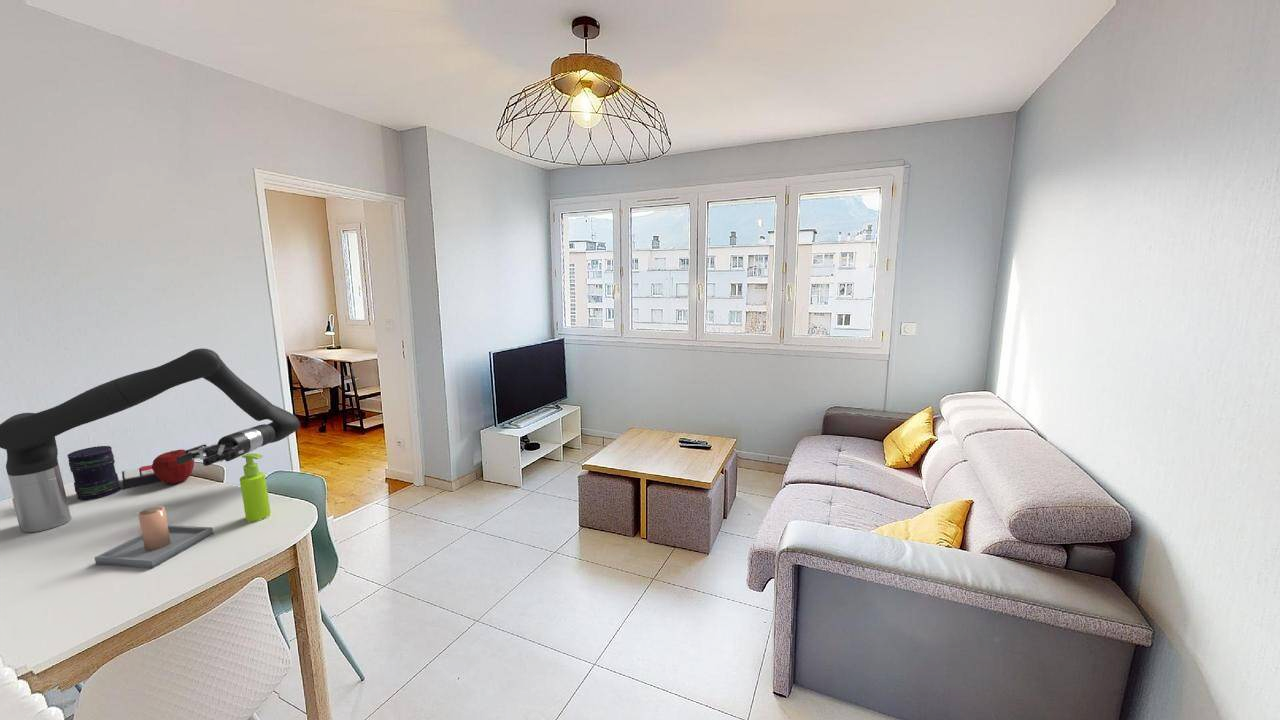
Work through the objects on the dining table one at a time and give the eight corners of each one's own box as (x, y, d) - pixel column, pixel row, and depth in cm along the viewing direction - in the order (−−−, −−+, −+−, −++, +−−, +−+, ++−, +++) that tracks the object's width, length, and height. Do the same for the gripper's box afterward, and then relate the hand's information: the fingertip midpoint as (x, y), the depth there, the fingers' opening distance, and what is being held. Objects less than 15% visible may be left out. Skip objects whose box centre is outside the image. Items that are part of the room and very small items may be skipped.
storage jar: (93, 488, 165) (84, 447, 163) (128, 485, 168) (120, 444, 165) (67, 502, 156) (57, 458, 153) (105, 499, 158) (95, 455, 155)
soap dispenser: (260, 523, 144) (250, 459, 140) (241, 520, 145) (230, 457, 141) (278, 513, 149) (269, 451, 146) (259, 511, 151) (250, 450, 147)
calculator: (182, 467, 175) (122, 478, 164) (184, 478, 176) (123, 490, 165) (179, 459, 182) (121, 469, 172) (181, 470, 183) (123, 480, 172)
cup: (139, 549, 128) (132, 514, 127) (159, 539, 133) (153, 505, 132) (156, 551, 128) (149, 515, 126) (175, 540, 133) (169, 506, 131)
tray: (96, 564, 124) (94, 557, 123) (162, 531, 139) (160, 524, 139) (153, 568, 122) (151, 560, 122) (213, 533, 138) (212, 527, 137)
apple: (178, 474, 177) (173, 444, 174) (206, 475, 176) (200, 445, 174) (146, 488, 166) (139, 455, 164) (175, 489, 165) (169, 456, 163)
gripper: (219, 430, 157) (166, 448, 141) (260, 432, 156) (211, 451, 140) (222, 452, 158) (170, 472, 143) (262, 455, 157) (215, 475, 141)
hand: (190, 461), depth 141 cm, fingers open, 8 cm apart
